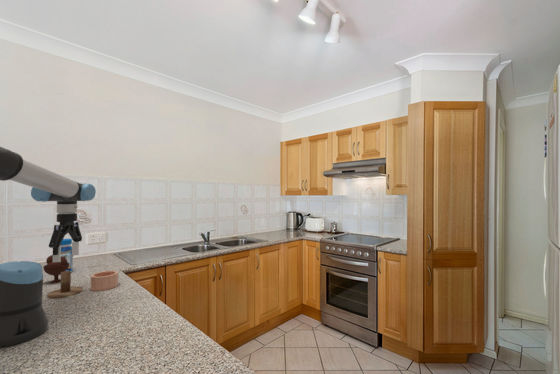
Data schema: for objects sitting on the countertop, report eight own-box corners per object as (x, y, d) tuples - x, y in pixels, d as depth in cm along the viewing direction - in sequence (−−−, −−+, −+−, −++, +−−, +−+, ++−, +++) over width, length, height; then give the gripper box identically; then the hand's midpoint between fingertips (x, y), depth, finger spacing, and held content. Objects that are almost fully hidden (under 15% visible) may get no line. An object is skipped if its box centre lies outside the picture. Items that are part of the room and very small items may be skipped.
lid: (72, 297, 117) (72, 275, 117) (39, 299, 115) (39, 277, 115) (88, 287, 130) (88, 267, 130) (59, 289, 128) (59, 268, 128)
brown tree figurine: (54, 286, 133) (54, 257, 134) (36, 285, 135) (37, 256, 136) (74, 280, 143) (75, 252, 144) (58, 279, 146) (58, 251, 146)
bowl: (111, 291, 126) (111, 276, 126) (85, 292, 124) (85, 278, 124) (121, 283, 137) (121, 270, 137) (98, 285, 135) (98, 271, 135)
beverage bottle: (76, 270, 162) (77, 238, 162) (63, 275, 153) (64, 240, 154) (64, 270, 162) (64, 238, 163) (50, 274, 154) (51, 240, 155)
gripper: (58, 215, 112) (57, 264, 111) (90, 211, 137) (90, 252, 136) (38, 215, 111) (37, 265, 110) (74, 211, 135) (74, 252, 135)
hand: (66, 258), depth 123 cm, fingers open, 13 cm apart
